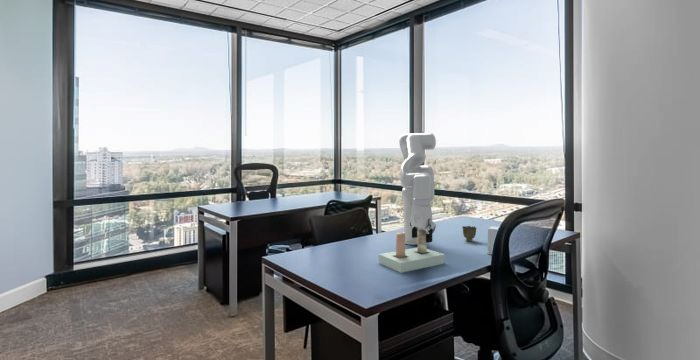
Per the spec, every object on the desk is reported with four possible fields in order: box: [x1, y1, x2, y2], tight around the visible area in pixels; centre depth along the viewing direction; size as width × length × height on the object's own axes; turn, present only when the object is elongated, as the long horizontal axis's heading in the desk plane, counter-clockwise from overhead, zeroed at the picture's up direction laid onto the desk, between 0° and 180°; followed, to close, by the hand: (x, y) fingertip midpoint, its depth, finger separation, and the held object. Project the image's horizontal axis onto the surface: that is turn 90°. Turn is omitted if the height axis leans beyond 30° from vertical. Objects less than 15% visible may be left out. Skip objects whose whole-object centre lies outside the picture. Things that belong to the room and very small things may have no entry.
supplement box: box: [487, 225, 500, 255], centre depth 183 cm, size 7×7×13 cm
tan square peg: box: [395, 232, 406, 259], centre depth 163 cm, size 4×4×14 cm
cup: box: [462, 225, 477, 243], centre depth 209 cm, size 8×7×8 cm
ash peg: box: [417, 229, 428, 255], centre depth 169 cm, size 4×4×14 cm
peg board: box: [378, 246, 446, 274], centre depth 166 cm, size 16×24×5 cm, turn 119°
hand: (421, 239), depth 169 cm, fingers open, 9 cm apart
